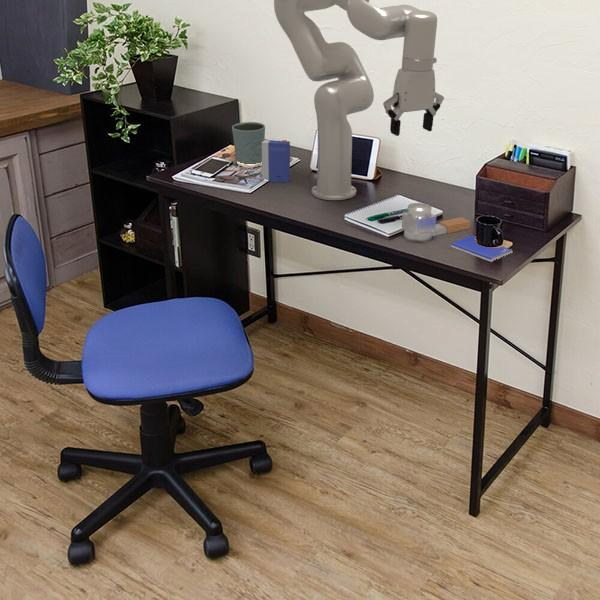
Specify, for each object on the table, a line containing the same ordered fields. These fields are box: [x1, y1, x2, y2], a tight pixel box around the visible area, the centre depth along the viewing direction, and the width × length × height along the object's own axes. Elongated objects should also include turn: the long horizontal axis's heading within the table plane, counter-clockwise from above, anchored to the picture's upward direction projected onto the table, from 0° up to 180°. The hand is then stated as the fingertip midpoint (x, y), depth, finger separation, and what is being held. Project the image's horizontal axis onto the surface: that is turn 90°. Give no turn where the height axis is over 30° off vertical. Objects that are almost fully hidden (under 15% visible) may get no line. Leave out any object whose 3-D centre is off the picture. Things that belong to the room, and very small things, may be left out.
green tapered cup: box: [231, 121, 266, 164], centre depth 284 cm, size 10×10×12 cm
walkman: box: [261, 139, 291, 183], centre depth 270 cm, size 8×3×12 cm, turn 79°
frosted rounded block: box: [401, 202, 437, 236], centre depth 231 cm, size 6×6×6 cm
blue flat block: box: [450, 235, 513, 263], centre depth 225 cm, size 2×8×12 cm
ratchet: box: [403, 216, 471, 243], centre depth 234 cm, size 18×7×5 cm, turn 119°
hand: (411, 132), depth 233 cm, fingers open, 9 cm apart
